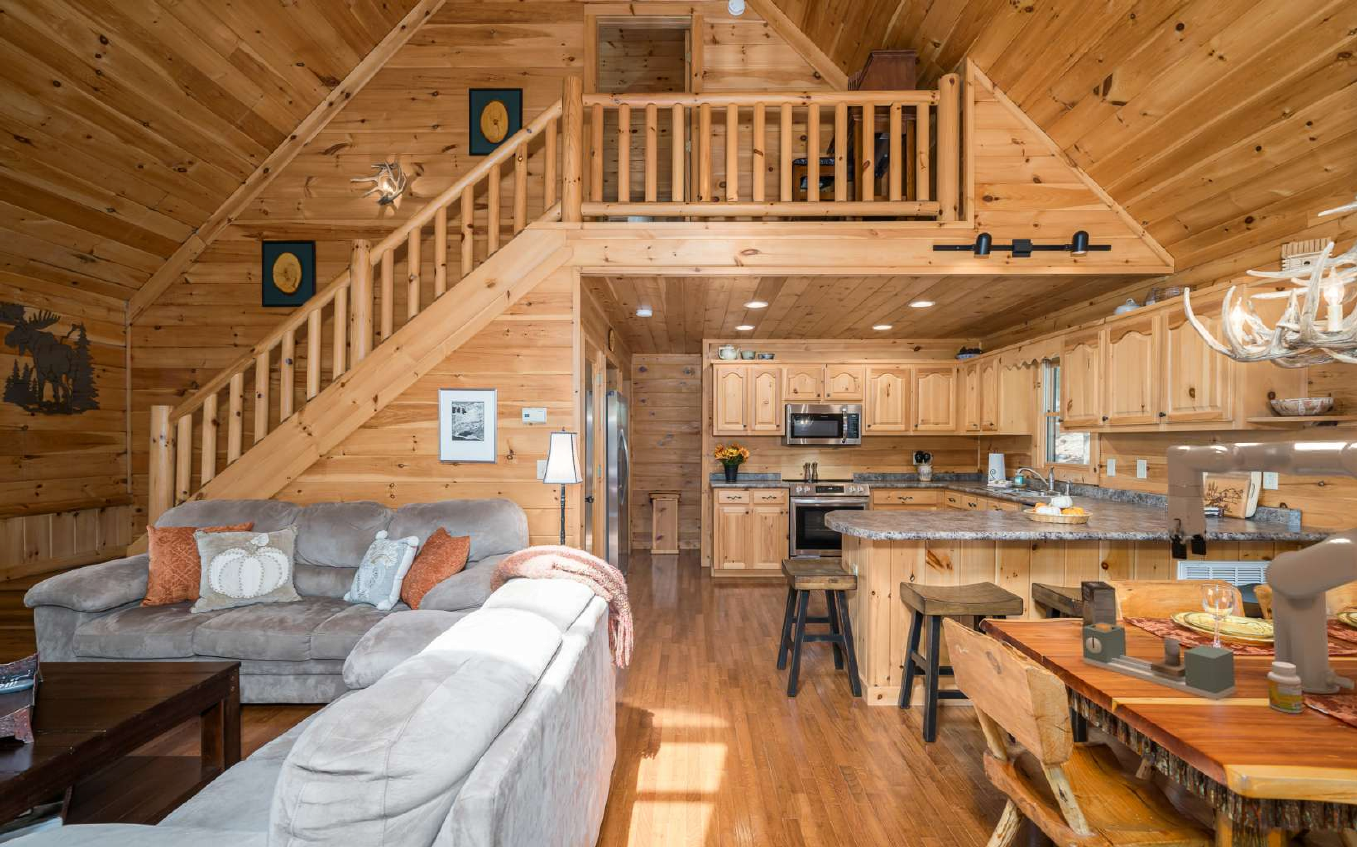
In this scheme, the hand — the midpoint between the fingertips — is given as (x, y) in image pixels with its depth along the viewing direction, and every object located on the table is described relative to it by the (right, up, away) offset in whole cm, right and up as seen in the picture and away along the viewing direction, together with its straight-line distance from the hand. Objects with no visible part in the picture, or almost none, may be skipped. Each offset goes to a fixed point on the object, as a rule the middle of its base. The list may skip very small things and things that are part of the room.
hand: (1189, 556), depth 174 cm
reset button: (-21, -22, +3) cm, 31 cm away
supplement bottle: (-1, -28, -29) cm, 40 cm away
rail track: (-15, -29, -8) cm, 33 cm away
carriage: (-13, -26, -12) cm, 31 cm away
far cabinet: (-21, -28, +3) cm, 35 cm away
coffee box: (-8, -29, +24) cm, 39 cm away
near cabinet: (-10, -27, -18) cm, 34 cm away
